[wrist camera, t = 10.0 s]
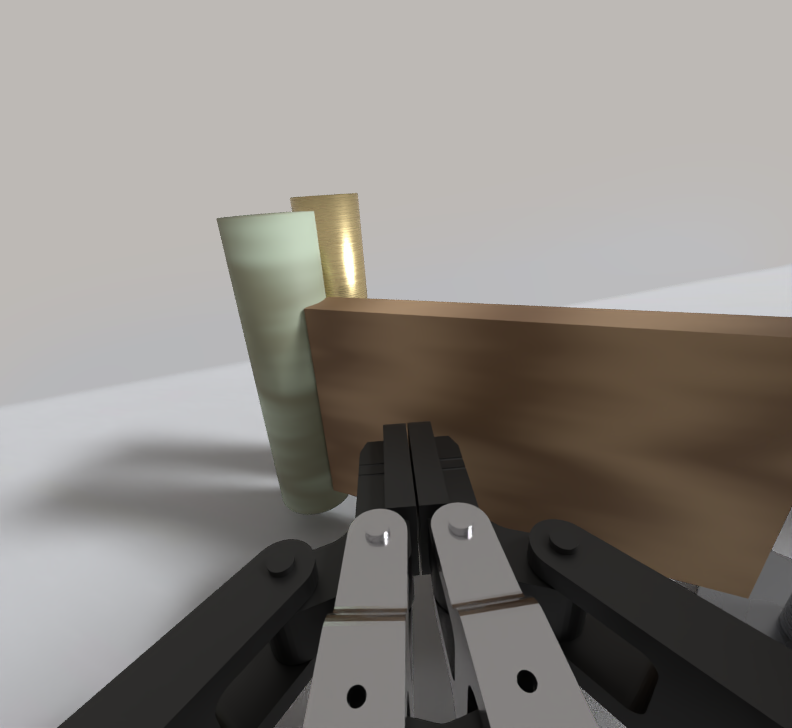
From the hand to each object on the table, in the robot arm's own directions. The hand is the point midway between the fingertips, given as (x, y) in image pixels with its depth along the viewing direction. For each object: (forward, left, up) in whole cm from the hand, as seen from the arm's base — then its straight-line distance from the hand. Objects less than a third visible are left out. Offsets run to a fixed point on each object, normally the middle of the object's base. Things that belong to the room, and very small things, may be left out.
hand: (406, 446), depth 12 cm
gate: (-2, +1, -5) cm, 6 cm away
